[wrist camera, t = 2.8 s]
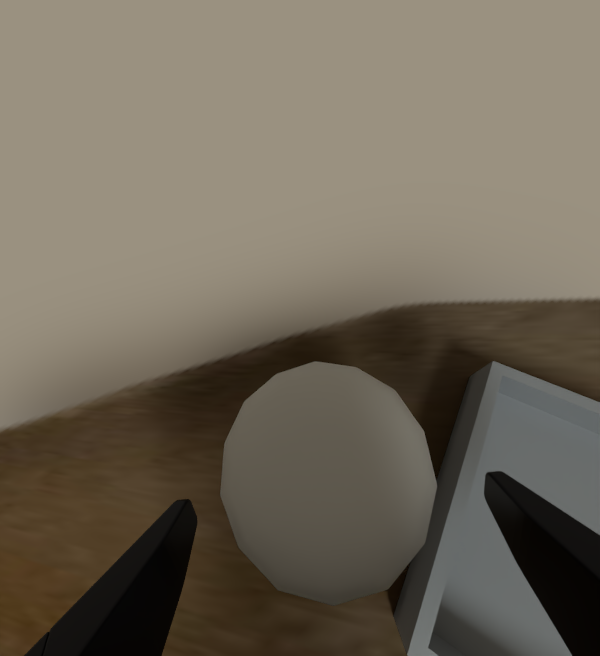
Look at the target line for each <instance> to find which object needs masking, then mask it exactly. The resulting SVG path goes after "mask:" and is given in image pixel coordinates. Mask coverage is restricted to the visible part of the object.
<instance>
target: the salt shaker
mask: <svg viewBox="0 0 600 656" xmlns="http://www.w3.org/2000/svg"><path fill="white" fill-rule="evenodd" d="M436 490H437V482H436V478H435V474H434V470H433V466H432V462H431V458H430V454H429V449H428V445H427V441H426V437H425V433H424V430H423V429H422V428H421V426H420V425H419V423H418V422H417V421H416V419H415V418H414V416H413V415H412V413H411V412H410V411H409V409H408V408H407V406H406V405H405V404H404V402H403V401H402V399H401V398H400V396H399V395H398V394H397V392H396V391H395V390H394V389H392V388H391V387H389V386H387V385H386V384H384V383H382V382H381V381H379V380H377V379H375V378H374V377H372V376H370V375H369V374H367V373H365V372H364V371H362V370H360V369H359V368H357V367H352V366H345V365H338V364H331V363H324V362H316V361H315V362H312V363H308V364H305V365H302V366H299V367H296V368H293V369H290V370H287V371H283V372H280V373H277V374H276V375H274V376H273V377H272V378H271V379H270V380H269V381H267V382H266V383H265V384H264V385H263V386H262V387H260V388H259V389H258V390H257V391H256V392H255V393H253V394H252V395H251V396H250V397H249V398H248V399H246V400H245V401H244V403H243V405H242V407H241V409H240V411H239V414H238V416H237V418H236V420H235V422H234V424H233V426H232V428H231V430H230V432H229V435H228V437H227V439H226V441H225V443H224V454H223V466H222V478H221V491H220V496H221V499H222V501H223V504H224V507H225V510H226V513H227V516H228V519H229V522H230V525H231V528H232V530H233V533H234V536H235V539H236V542H237V545H238V548H239V549H240V550H241V551H242V552H243V553H244V554H245V555H246V556H247V557H248V558H249V560H250V561H251V562H252V563H253V564H254V565H255V566H256V567H257V568H258V569H259V570H260V571H261V572H262V574H263V575H264V576H265V577H266V578H267V579H268V580H269V581H270V582H271V583H272V584H273V585H274V586H275V588H276V589H277V590H279V591H283V592H286V593H290V594H293V595H297V596H300V597H304V598H307V599H311V600H315V601H318V602H322V603H325V604H329V605H332V606H334V605H337V604H341V603H344V602H347V601H351V600H354V599H358V598H361V597H364V596H368V595H371V594H374V593H378V592H381V591H384V590H388V589H389V588H390V586H391V585H392V584H393V583H394V581H395V580H396V579H397V578H398V577H399V575H400V574H401V573H402V572H403V570H404V569H405V568H406V567H407V565H408V564H409V563H410V562H411V560H412V559H413V558H414V557H415V555H416V554H417V553H418V552H419V550H420V549H421V548H422V547H423V545H424V544H425V541H426V537H427V532H428V527H429V523H430V518H431V513H432V508H433V504H434V499H435V494H436Z"/></svg>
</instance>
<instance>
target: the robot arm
mask: <svg viewBox="0 0 600 656" xmlns="http://www.w3.org/2000/svg"><path fill="white" fill-rule="evenodd" d="M484 497H485V500H486V502H487V504H488V506H489V508H490V510H491V512H492V514H493V517H494V519H495V521H496V523H497V525H498V527H499V529H500V531H501V533H502V535H503V537H504V539H505V541H506V543H507V545H508V547H509V549H510V551H511V553H512V555H513V557H514V559H515V561H516V563H517V564H518V566H519V568H520V570H521V571H522V573H523V575H524V576H525V578H526V580H527V581H528V583H529V585H530V586H531V588H532V590H533V591H534V593H535V595H536V596H537V598H538V600H539V601H540V603H541V605H542V606H543V608H544V610H545V611H546V613H547V615H548V616H549V618H550V620H551V621H552V623H553V625H554V626H555V628H556V630H557V631H558V633H559V635H560V636H561V638H562V640H563V641H564V643H565V645H566V646H567V648H568V650H569V651H570V653H571V655H572V656H600V535H599V534H597V533H596V532H594V531H593V530H591V529H590V528H588V527H587V526H585V525H584V524H582V523H581V522H579V521H578V520H576V519H574V518H573V517H571V516H570V515H568V514H567V513H565V512H564V511H562V510H561V509H559V508H558V507H556V506H555V505H553V504H552V503H550V502H549V501H547V500H545V499H544V498H542V497H541V496H539V495H538V494H536V493H535V492H533V491H532V490H530V489H529V488H527V487H526V486H524V485H523V484H521V483H520V482H518V481H516V480H515V479H513V478H512V477H510V476H509V475H507V474H506V473H504V472H502V471H493V472H487V473H486V475H485V485H484ZM196 527H197V516H196V513H195V511H194V508H193V505H192V503H191V501H190V500H189V499H184V500H177V501H175V502H174V503H173V504H172V505H171V506H170V507H169V508H168V509H167V510H166V511H165V512H164V513H163V514H162V515H161V516H160V517H159V518H158V519H157V520H156V521H155V522H154V523H153V524H152V526H151V527H150V528H149V529H148V530H147V531H146V532H145V533H144V534H143V535H142V536H141V537H140V538H139V539H138V540H137V541H136V542H135V543H134V544H133V545H132V546H131V547H130V548H129V549H128V550H127V551H126V552H125V553H124V554H123V555H122V556H121V557H120V558H119V559H118V560H117V561H116V562H115V563H114V564H113V565H112V566H111V567H110V568H109V570H108V571H107V572H106V573H105V574H104V575H103V576H102V577H101V578H100V579H99V580H98V581H97V582H96V583H95V584H94V585H93V586H92V587H91V588H90V589H89V590H88V591H87V592H86V593H85V594H84V595H83V596H82V597H81V598H80V599H79V600H78V601H77V602H76V603H75V604H74V605H73V606H72V607H71V608H70V609H69V610H68V611H67V612H66V614H65V615H64V616H63V617H62V618H61V619H60V620H59V621H58V622H57V623H56V624H55V625H54V626H53V627H52V628H51V630H50V632H47V633H46V634H45V635H44V636H43V637H42V638H41V639H40V640H39V641H38V642H37V643H36V644H35V645H34V646H33V647H32V648H31V649H30V650H29V651H28V652H27V653H26V654H25V655H24V656H161V655H162V652H163V649H164V646H165V643H166V639H167V636H168V633H169V630H170V627H171V623H172V620H173V617H174V614H175V611H176V608H177V604H178V601H179V598H180V595H181V591H182V588H183V584H184V580H185V576H186V572H187V567H188V563H189V559H190V554H191V550H192V545H193V541H194V536H195V532H196Z"/></svg>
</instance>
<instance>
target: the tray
mask: <svg viewBox="0 0 600 656" xmlns="http://www.w3.org/2000/svg"><path fill="white" fill-rule="evenodd" d="M493 471H502V472H504V473H506V474H507V475H509V476H510V477H512V478H513V479H515V480H516V481H518V482H520V483H521V484H523V485H524V486H526V487H527V488H529V489H530V490H532V491H533V492H535V493H536V494H538V495H539V496H541V497H542V498H544V499H545V500H547V501H549V502H550V503H552V504H553V505H555V506H556V507H558V508H559V509H561V510H562V511H564V512H565V513H567V514H568V515H570V516H571V517H573V518H574V519H576V520H578V521H579V522H581V523H582V524H584V525H585V526H587V527H588V528H590V529H591V530H593V531H594V532H596V533H597V534H599V535H600V402H597V401H595V400H592V399H590V398H587V397H585V396H582V395H579V394H577V393H574V392H572V391H569V390H567V389H564V388H561V387H559V386H556V385H554V384H551V383H549V382H546V381H544V380H541V379H538V378H536V377H533V376H531V375H528V374H526V373H523V372H520V371H518V370H515V369H513V368H510V367H508V366H505V365H502V364H500V363H497V362H495V361H492V362H491V363H489V364H488V365H486V366H485V367H483V368H482V369H480V370H479V371H477V372H476V373H474V374H473V375H471V376H470V377H469V380H468V383H467V386H466V390H465V393H464V396H463V399H462V402H461V405H460V408H459V412H458V415H457V418H456V421H455V424H454V427H453V430H452V434H451V437H450V440H449V443H448V446H447V449H446V452H445V455H444V459H443V462H442V465H441V468H440V471H439V474H438V477H437V481H436V482H437V490H436V494H435V499H434V504H433V508H432V513H431V518H430V523H429V527H428V532H427V537H426V541H425V544H424V545H423V547H422V548H421V549H420V550H419V552H418V553H417V554H416V555H415V557H414V558H413V559H412V560H411V562H410V565H409V568H408V572H407V575H406V578H405V581H404V584H403V587H402V590H401V594H400V597H399V600H398V603H397V606H396V609H395V612H394V616H393V617H394V619H395V622H396V625H397V628H398V631H399V634H400V636H401V639H402V642H403V645H404V648H405V651H406V653H407V655H408V656H572V655H571V653H570V651H569V650H568V648H567V646H566V645H565V643H564V641H563V640H562V638H561V636H560V635H559V633H558V631H557V630H556V628H555V626H554V625H553V623H552V621H551V620H550V618H549V616H548V615H547V613H546V611H545V610H544V608H543V606H542V605H541V603H540V601H539V600H538V598H537V596H536V595H535V593H534V591H533V590H532V588H531V586H530V585H529V583H528V581H527V580H526V578H525V576H524V575H523V573H522V571H521V570H520V568H519V566H518V564H517V563H516V561H515V559H514V557H513V555H512V553H511V551H510V549H509V547H508V545H507V543H506V541H505V539H504V537H503V535H502V533H501V531H500V529H499V527H498V525H497V523H496V521H495V519H494V517H493V514H492V512H491V510H490V508H489V506H488V504H487V502H486V500H485V497H484V485H485V475H486V473H487V472H493Z"/></svg>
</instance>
